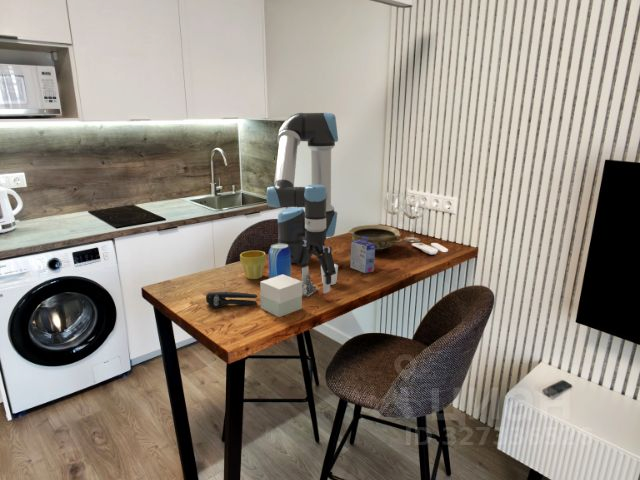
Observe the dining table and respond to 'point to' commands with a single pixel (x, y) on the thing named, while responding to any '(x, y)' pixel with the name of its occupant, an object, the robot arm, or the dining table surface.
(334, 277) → the white gray-rimmed cylinder
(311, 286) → the house of cards
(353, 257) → the ink cartridge box
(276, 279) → the tower top block
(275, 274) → the beer can
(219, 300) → the can opener
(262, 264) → the plant pot
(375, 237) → the ceramic bowl
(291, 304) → the tower bottom block
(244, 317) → the dining table surface
